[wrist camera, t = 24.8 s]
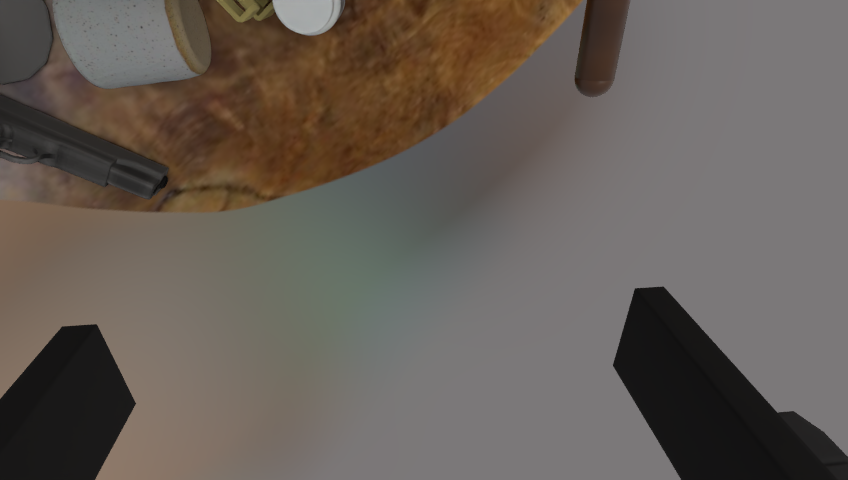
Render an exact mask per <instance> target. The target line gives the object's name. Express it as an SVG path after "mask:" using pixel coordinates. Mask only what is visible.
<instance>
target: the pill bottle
mask: <svg viewBox="0 0 848 480" xmlns="http://www.w3.org/2000/svg"><path fill="white" fill-rule="evenodd" d="M272 2H273V7H274V10H275V12H276V14H277V16H278V18H279V19H280V20H281V22H282V23H283V24H284V25H285V26H286V27H287V28H289V29H290V30H292V31H294V32H297V33H300V34H303V35H318V34H322V33H324V32H326V31H327V30H329V29H330V28H331V27H332V26H333V25H334V24H335V22H336V21H337V20H338V18H339V17H340V15H341V13H342V11H343V9H344V5H345V0H272Z"/></svg>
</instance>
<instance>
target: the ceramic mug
mask: <svg viewBox="0 0 848 480" xmlns="http://www.w3.org/2000/svg"><path fill="white" fill-rule="evenodd" d="M52 5H53V14H54V19H55V24H56V28H57V31H58V34H59V37H60V39H61V42H62V44H63V46H64V48H65V50H66V52H67V54H68V56H69V57H70V59H71V61H72V62H73V64H74V65H75V67H76V68H77V70H78V71H79V72H80V73H81V74H82V76H84V77H85V78H86V79H87V80H88V81H89V82H91V83H92V84H94V85H95V86H97V87H100V88H105V89H113V88H120V87H127V86H136V85H144V84H152V83H158V82H166V81H176V80H184V79H189V78H192V77H195V76H199V75H201V74H203V73H205V72H206V70H207V69H208V67H209V65H210V63H211V43H210V37H209V33H208V28H207V25H206V21H205V17H204V15H203V12H202V9H201V7H200V4H199V2H198V0H52Z"/></svg>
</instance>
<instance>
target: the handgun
mask: <svg viewBox="0 0 848 480" xmlns="http://www.w3.org/2000/svg"><path fill="white" fill-rule="evenodd" d="M0 148H1V149H6V150H9V151H12V152H15V153H17V154H20V155H22V156H25V157H26V158H23V157H17V156H13V155H10V154H8V153H6V152H3V151H1V150H0V158H3V159H6V160H8V161H11V162H14V163H19V164H32V163H35V162H40V163H42V164H45V165H47V166H51V167H55V168H58V169H61V170H64V171H66V172H69V173H71V174H74V175H76V176H79V177H81V178H84V179H86V180H88V181H91V182H93V183H96V184H98V185H101V186H103V187H106V186H107V185H108V184H110V185H113V186H115V187H118V188H120V189H123V190H125V191H128V192H130V193H132V194H135V195H137V196H140V197H142V198H145V199H151V198H152V197H153V195H156V194H157V193H158V192H159V191H160V190H161V188H164V187H165V186H166V184H167V181H168V178H167V176H166V175H167V172H168V169H169V168H168V167H165V166H163V165H160V164H158V163H156V162H154V161H151V160H149V159H147V158H144V157H142V156H140V155H138V154H135V153H133V152H131V151H128V150H126V149H124V148H121V147H119V146H117V145H114V144H112V143H110V142H107V141H105V140H103V139H101V138H98V137H96V136H94V135H91V134H89V133H87V132H84V131H82V130H80V129H78V128H75V127H73V126H70V125H69V124H67V123H65V122H63V121H60V120H58V119H56V118H53V117H51V116H49V115H47V114H44V113H42V112H40V111H37V110H34V109H32V108H29V107H27V106H25V105H22V104H20V103H18V102H16V101H13V100H11V99H9V98H6V97H4V96H2V95H0Z"/></svg>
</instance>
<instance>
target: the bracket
mask: <svg viewBox="0 0 848 480" xmlns="http://www.w3.org/2000/svg"><path fill="white" fill-rule="evenodd" d="M237 1H238V2H239V3H240V4H241V5H242V6H243V7H244V8H245V10H246V11H245V12H244V11H243V10H242V9H241V8H240V7H239V6H238V5H237V4H236V3H235V2H234V1H233V0H217V2H218V3H219V4H220V5H221V6H222V7H223V8H224V9H225V10H226V11H227V12H228V13H229V14H230V15H231V16H232V17H233V18H234V19H235V20H236V21H237V22H244V21H247V20H249V19H251V18H252V17H253V18H254V19H255V20H258V21H260V20H263V19H265V18H268V17H270V16H271V15H272V14H273V13H274V12H275V10H274V7H273V2H271V3H270V4H269V5H268V6H267V7H266V8H265V9H264V7H265V6H266V5H267V4H268V3H269V0H237Z"/></svg>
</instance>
